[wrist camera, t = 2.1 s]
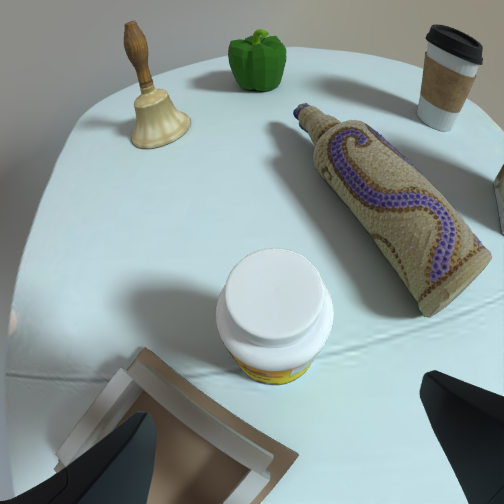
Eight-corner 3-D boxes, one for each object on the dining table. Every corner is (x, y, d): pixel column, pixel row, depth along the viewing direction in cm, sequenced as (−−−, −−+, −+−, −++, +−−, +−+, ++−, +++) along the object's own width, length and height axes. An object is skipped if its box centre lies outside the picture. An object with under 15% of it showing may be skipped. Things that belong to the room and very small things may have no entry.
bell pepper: (230, 78, 42) (222, 25, 34) (279, 73, 43) (277, 20, 34) (235, 101, 38) (227, 38, 29) (292, 94, 38) (291, 32, 30)
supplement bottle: (220, 342, 21) (178, 278, 12) (280, 298, 22) (282, 210, 14) (268, 403, 18) (261, 390, 9) (330, 353, 20) (372, 296, 11)
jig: (191, 567, 11) (178, 586, 8) (65, 460, 15) (38, 460, 12) (298, 453, 16) (302, 460, 13) (150, 350, 21) (130, 337, 18)
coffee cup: (463, 125, 34) (489, 46, 21) (451, 144, 31) (483, 50, 18) (419, 100, 37) (436, 20, 25) (400, 114, 35) (420, 21, 22)
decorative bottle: (469, 289, 21) (509, 249, 15) (413, 331, 20) (454, 296, 14) (326, 121, 34) (330, 76, 28) (273, 135, 33) (270, 86, 27)
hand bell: (137, 121, 38) (105, 26, 24) (192, 108, 38) (169, 7, 24) (126, 155, 33) (81, 45, 20) (189, 141, 33) (159, 19, 20)
